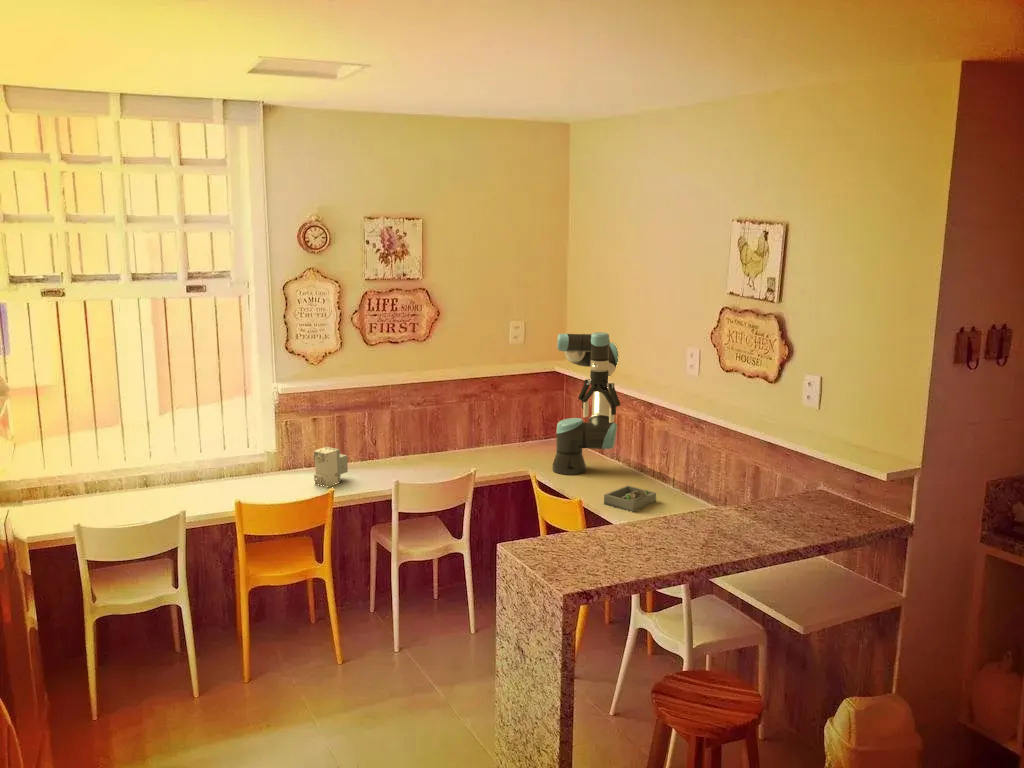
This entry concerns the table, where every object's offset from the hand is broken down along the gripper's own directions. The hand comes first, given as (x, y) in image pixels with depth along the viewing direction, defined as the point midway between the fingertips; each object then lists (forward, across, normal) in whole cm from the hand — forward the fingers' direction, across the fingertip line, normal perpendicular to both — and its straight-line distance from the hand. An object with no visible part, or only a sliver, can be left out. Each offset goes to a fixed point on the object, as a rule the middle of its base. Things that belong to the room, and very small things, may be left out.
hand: (598, 419), depth 374 cm
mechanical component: (+27, +21, -11) cm, 36 cm away
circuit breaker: (+29, -87, -74) cm, 118 cm away
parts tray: (+29, +24, -10) cm, 39 cm away
